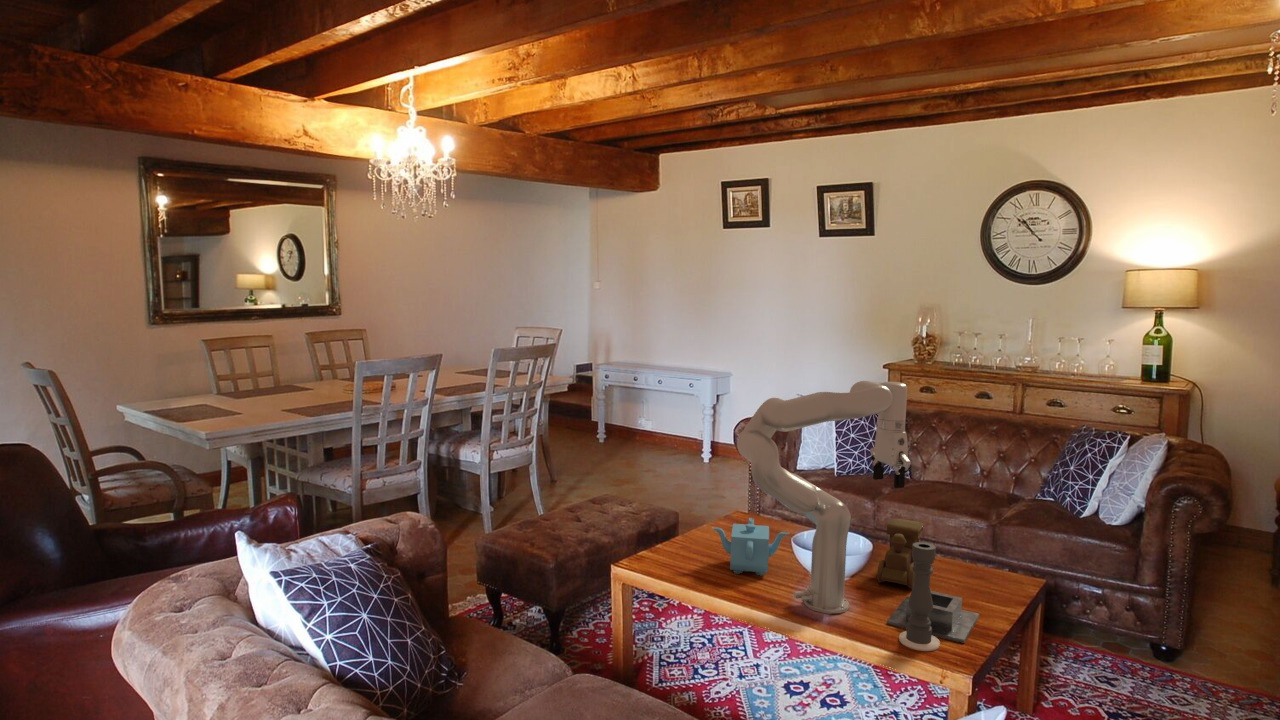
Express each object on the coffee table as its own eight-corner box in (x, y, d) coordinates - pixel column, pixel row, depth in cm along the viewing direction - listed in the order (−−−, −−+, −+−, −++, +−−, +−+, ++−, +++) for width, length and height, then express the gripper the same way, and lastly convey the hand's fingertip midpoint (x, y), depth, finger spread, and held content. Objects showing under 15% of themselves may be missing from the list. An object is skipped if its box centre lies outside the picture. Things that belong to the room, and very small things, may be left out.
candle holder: (904, 640, 204) (909, 547, 202) (908, 631, 210) (913, 540, 207) (929, 646, 201) (935, 551, 199) (932, 636, 207) (938, 544, 204)
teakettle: (748, 584, 242) (750, 537, 241) (708, 565, 257) (709, 521, 256) (790, 571, 254) (792, 527, 252) (749, 554, 268) (751, 512, 267)
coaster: (910, 652, 200) (910, 649, 200) (892, 634, 209) (892, 631, 209) (947, 650, 201) (947, 647, 201) (927, 632, 211) (927, 629, 211)
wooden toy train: (887, 565, 260) (890, 516, 259) (923, 572, 255) (926, 522, 253) (874, 585, 243) (877, 533, 241) (912, 593, 238) (915, 540, 236)
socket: (964, 643, 205) (965, 621, 204) (886, 623, 216) (887, 602, 215) (978, 617, 221) (980, 596, 221) (906, 600, 232) (907, 580, 232)
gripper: (922, 430, 219) (918, 490, 221) (884, 419, 235) (881, 475, 237) (899, 431, 217) (896, 492, 218) (862, 420, 233) (859, 476, 235)
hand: (888, 483), depth 228 cm, fingers open, 9 cm apart
